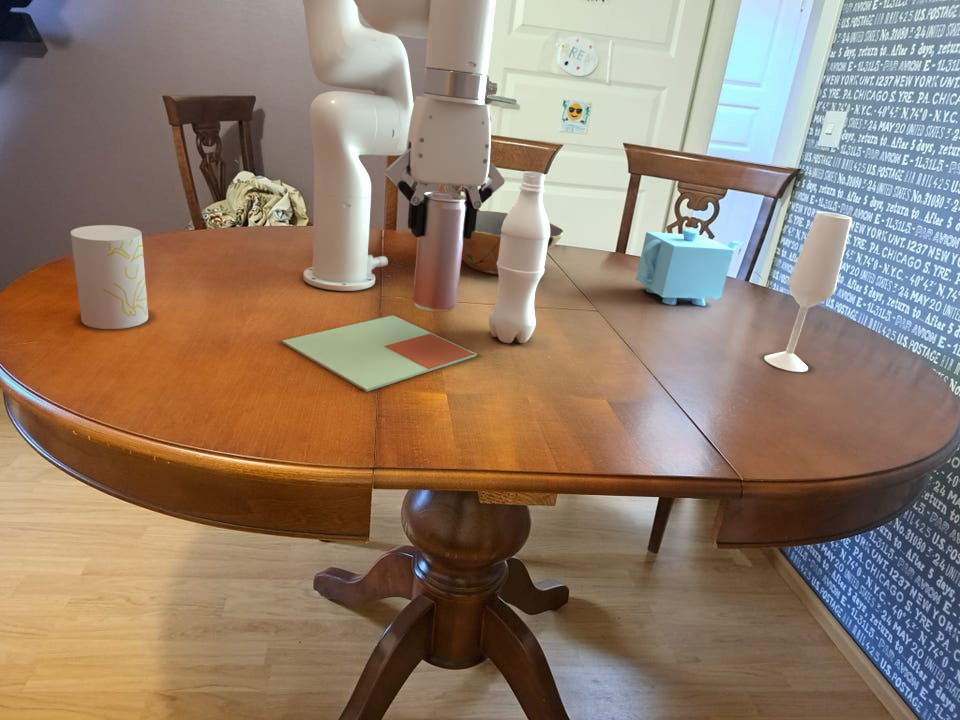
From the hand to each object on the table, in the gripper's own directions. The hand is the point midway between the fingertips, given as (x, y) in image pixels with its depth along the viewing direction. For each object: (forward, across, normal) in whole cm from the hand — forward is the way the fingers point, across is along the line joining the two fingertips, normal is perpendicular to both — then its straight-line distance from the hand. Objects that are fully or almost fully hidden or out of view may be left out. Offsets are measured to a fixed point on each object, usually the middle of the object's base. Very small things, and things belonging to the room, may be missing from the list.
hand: (440, 234), depth 87 cm
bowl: (+17, -25, -43) cm, 52 cm away
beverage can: (+10, 0, 0) cm, 10 cm away
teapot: (+17, -60, -26) cm, 68 cm away
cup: (+17, +41, -14) cm, 47 cm away
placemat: (+17, +7, -2) cm, 18 cm away
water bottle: (+17, -14, -5) cm, 23 cm away
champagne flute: (+17, -58, +6) cm, 61 cm away
